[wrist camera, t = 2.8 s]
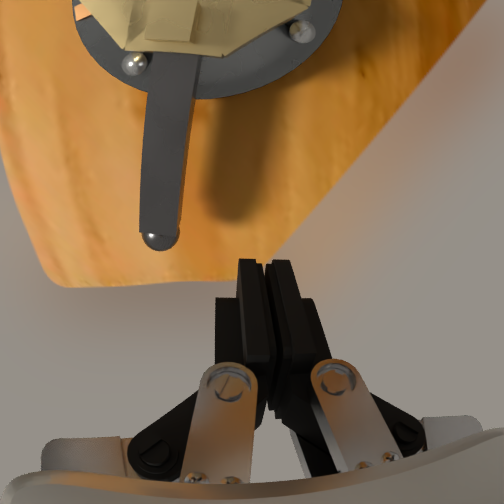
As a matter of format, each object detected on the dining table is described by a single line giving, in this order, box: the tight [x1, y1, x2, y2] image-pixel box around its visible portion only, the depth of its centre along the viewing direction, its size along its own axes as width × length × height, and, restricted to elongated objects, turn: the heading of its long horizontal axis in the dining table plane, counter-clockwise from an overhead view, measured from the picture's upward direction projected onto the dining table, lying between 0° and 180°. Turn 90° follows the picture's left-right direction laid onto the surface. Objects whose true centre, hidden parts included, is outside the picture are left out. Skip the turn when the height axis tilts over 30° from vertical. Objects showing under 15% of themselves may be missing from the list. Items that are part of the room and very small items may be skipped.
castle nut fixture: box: [80, 0, 311, 251], centre depth 14 cm, size 25×12×7 cm, turn 169°
